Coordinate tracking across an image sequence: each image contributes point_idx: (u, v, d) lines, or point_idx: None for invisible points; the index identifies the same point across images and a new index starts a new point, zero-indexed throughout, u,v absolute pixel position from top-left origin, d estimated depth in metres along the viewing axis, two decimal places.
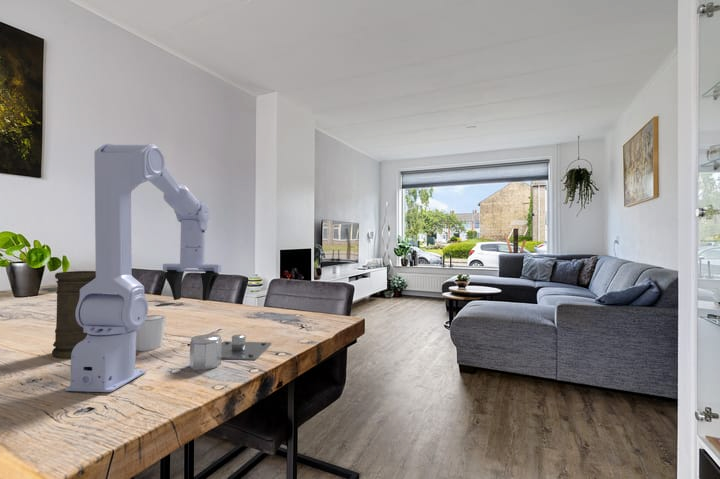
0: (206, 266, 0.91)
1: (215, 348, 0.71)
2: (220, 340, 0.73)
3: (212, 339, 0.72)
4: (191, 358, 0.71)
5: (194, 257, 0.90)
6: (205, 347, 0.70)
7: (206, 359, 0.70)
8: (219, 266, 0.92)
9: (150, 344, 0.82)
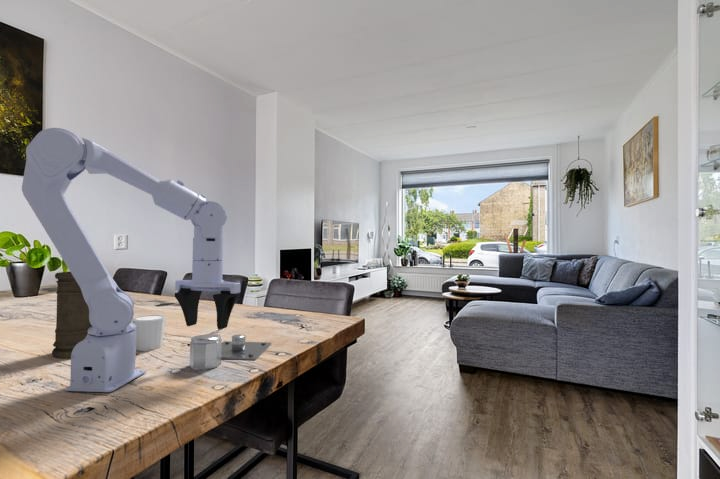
0: (221, 286, 0.70)
1: (215, 348, 0.71)
2: (220, 340, 0.73)
3: (212, 339, 0.72)
4: (191, 358, 0.71)
5: (206, 273, 0.70)
6: (205, 347, 0.70)
7: (206, 359, 0.70)
8: (237, 285, 0.71)
9: (150, 344, 0.82)
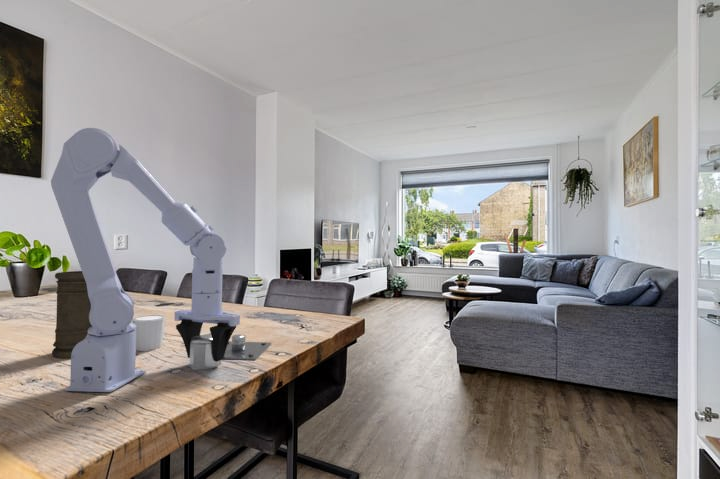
0: (220, 318, 0.70)
1: None
2: None
3: (212, 339, 0.72)
4: (191, 358, 0.71)
5: (206, 306, 0.70)
6: (205, 347, 0.70)
7: (206, 359, 0.70)
8: (236, 318, 0.71)
9: (150, 344, 0.82)
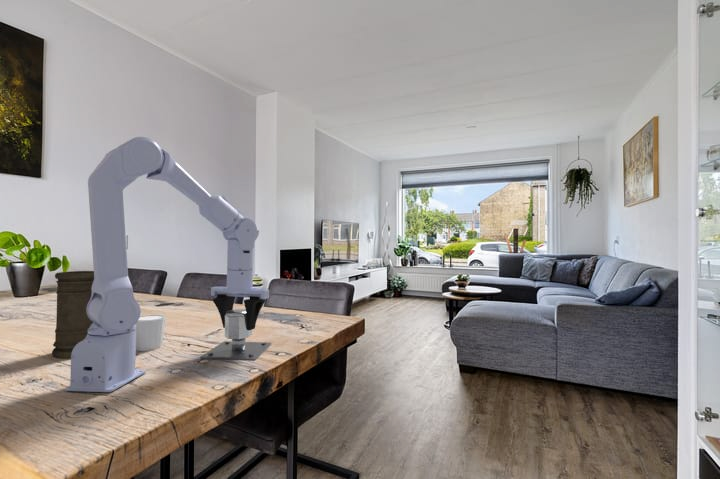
0: (252, 292, 0.80)
1: None
2: None
3: (244, 313, 0.81)
4: (226, 329, 0.81)
5: (240, 281, 0.80)
6: (238, 319, 0.80)
7: (239, 330, 0.80)
8: (266, 292, 0.81)
9: (150, 344, 0.82)
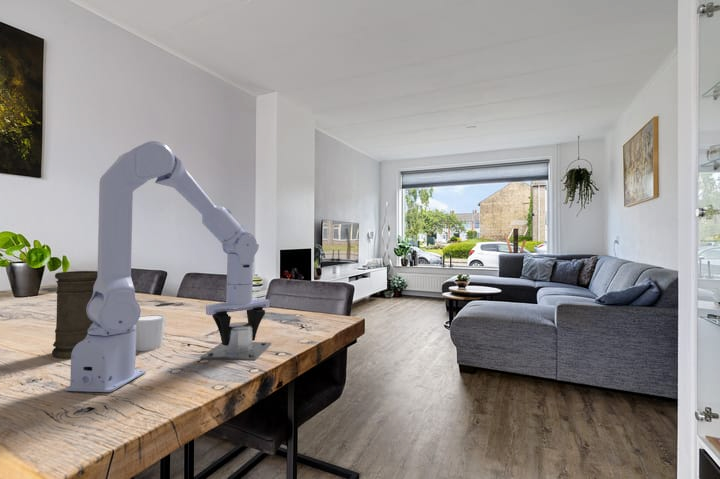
0: (260, 303, 0.85)
1: (251, 332, 0.83)
2: None
3: (248, 325, 0.83)
4: (232, 344, 0.80)
5: (250, 295, 0.82)
6: (248, 331, 0.81)
7: (248, 342, 0.81)
8: None
9: (150, 344, 0.82)
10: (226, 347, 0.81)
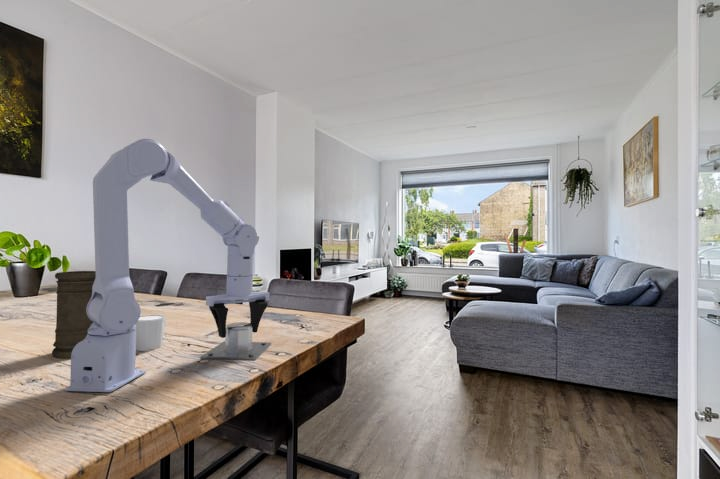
0: (260, 295, 0.85)
1: (251, 332, 0.83)
2: None
3: (248, 325, 0.83)
4: (232, 344, 0.80)
5: (250, 286, 0.82)
6: (248, 331, 0.81)
7: (248, 342, 0.81)
8: None
9: (150, 344, 0.82)
10: (226, 347, 0.81)
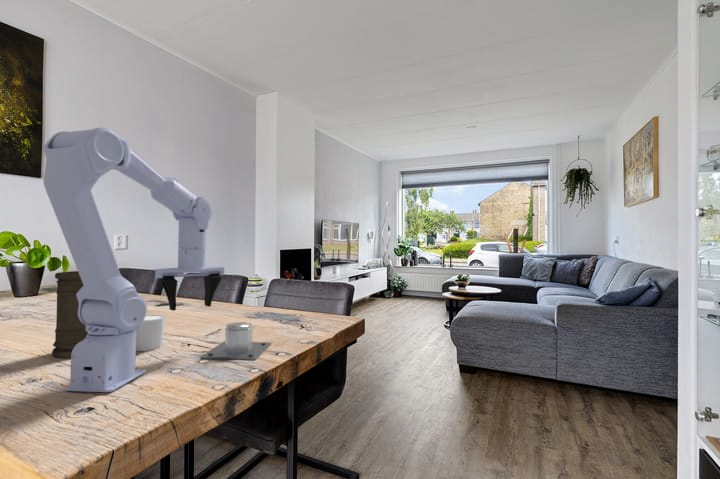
0: (214, 269, 0.84)
1: (251, 332, 0.83)
2: None
3: (248, 325, 0.83)
4: (232, 344, 0.80)
5: (202, 260, 0.82)
6: (248, 331, 0.81)
7: (248, 342, 0.81)
8: None
9: (150, 344, 0.82)
10: (226, 347, 0.81)
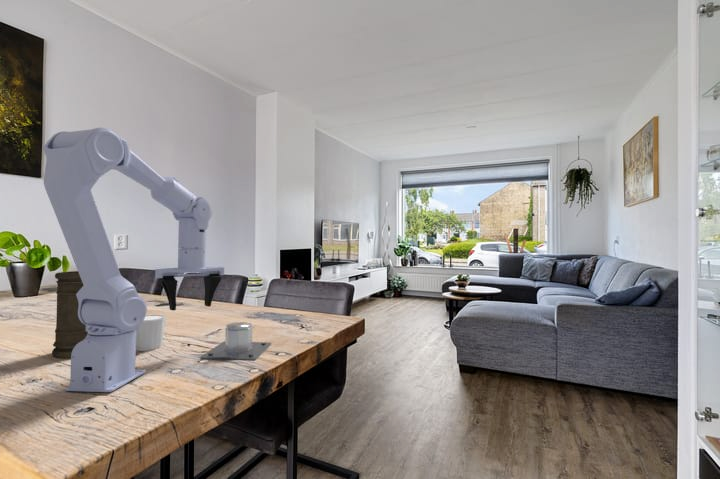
0: (214, 269, 0.84)
1: (251, 332, 0.83)
2: None
3: (248, 325, 0.83)
4: (232, 344, 0.80)
5: (202, 260, 0.82)
6: (248, 331, 0.81)
7: (248, 342, 0.81)
8: None
9: (150, 344, 0.82)
10: (226, 347, 0.81)
